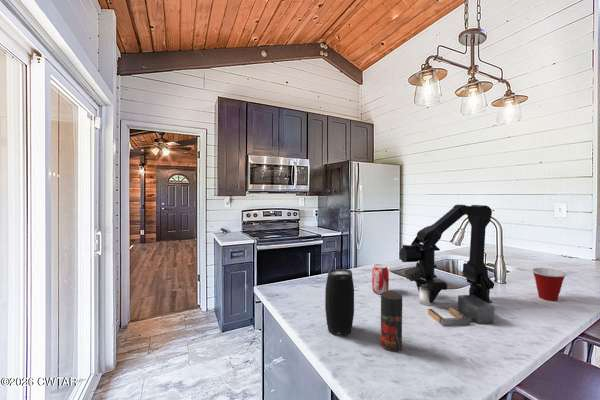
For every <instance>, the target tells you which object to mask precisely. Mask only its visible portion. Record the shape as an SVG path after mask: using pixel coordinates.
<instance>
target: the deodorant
mask: <svg viewBox="0 0 600 400" xmlns="http://www.w3.org/2000/svg"><path fill="white" fill-rule="evenodd" d="M380 347H381V348H382V349H384V350H386V351H388V352H391V353H392V352H393V353H396V352H400V351H401V350H402V349H403V295H402V294H401V293H399V292H394V291H388V292H383V293H381V294H380Z"/></svg>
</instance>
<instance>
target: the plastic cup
mask: <svg viewBox="0 0 600 400" xmlns="http://www.w3.org/2000/svg"><path fill="white" fill-rule="evenodd" d="M531 271H532V273H533V277H534V280H535V284H536V285H535V286H536V289H537V296H538V297H539V298H540V299H542V300H545V301H549V302H557V301H558V299H559V295H560V292H561V289H562V286H563V282H564V279H565V277H566V276H567V273H566V272H565V271H562V270H561V269H556V268H551V267H532V268H531Z"/></svg>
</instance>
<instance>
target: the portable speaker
mask: <svg viewBox="0 0 600 400" xmlns="http://www.w3.org/2000/svg"><path fill="white" fill-rule="evenodd" d="M325 283H326V284H325V296H324V297H325V301H324V304H325V305H324V309H325V316H326V317H325V318H326V326H327V331H328V333H329V334H331V335H336V334H342V335H344V336H349V335H350V334H351V333H352V330H353V329H352V328H353V325H354V324H353V323H354V316H355V287H354V286H355V285H354V279H353V272H352V269H349V268H337V269H336V268H329V269H328V270H327V277H326V282H325Z"/></svg>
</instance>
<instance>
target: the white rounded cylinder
mask: <svg viewBox="0 0 600 400" xmlns="http://www.w3.org/2000/svg"><path fill="white" fill-rule="evenodd" d="M425 286H427V284H426V285H421V287H420V288H419V291H418V296H419V297H418V298H419V299H418V301H419V302H418V303H419V304H420V305H422V306H425V307H431V306H433V305H434V302H433V303H430V302H429V294H428V289H427V288H426V287H425Z"/></svg>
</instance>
